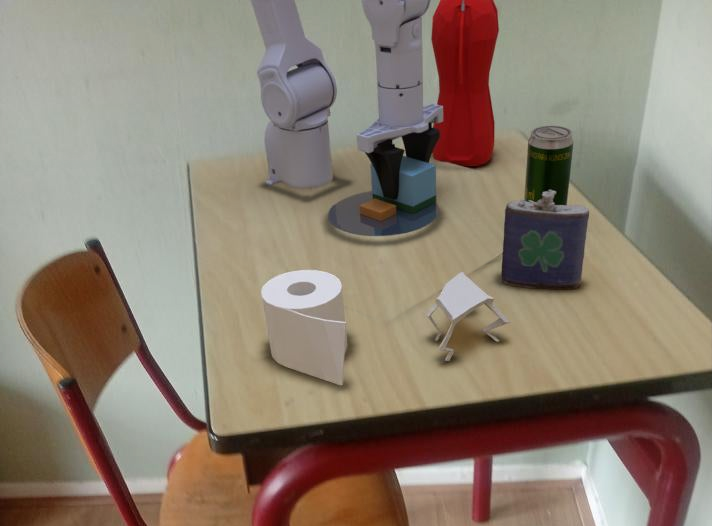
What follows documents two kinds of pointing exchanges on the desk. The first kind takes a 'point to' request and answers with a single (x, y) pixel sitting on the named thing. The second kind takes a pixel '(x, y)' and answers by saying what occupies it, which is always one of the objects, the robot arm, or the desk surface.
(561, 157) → the beer can
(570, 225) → the flask
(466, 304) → the origami figure
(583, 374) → the desk surface
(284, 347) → the toilet paper
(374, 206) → the orange cardboard box
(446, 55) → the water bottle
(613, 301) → the desk surface
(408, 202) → the sponge
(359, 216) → the plate
